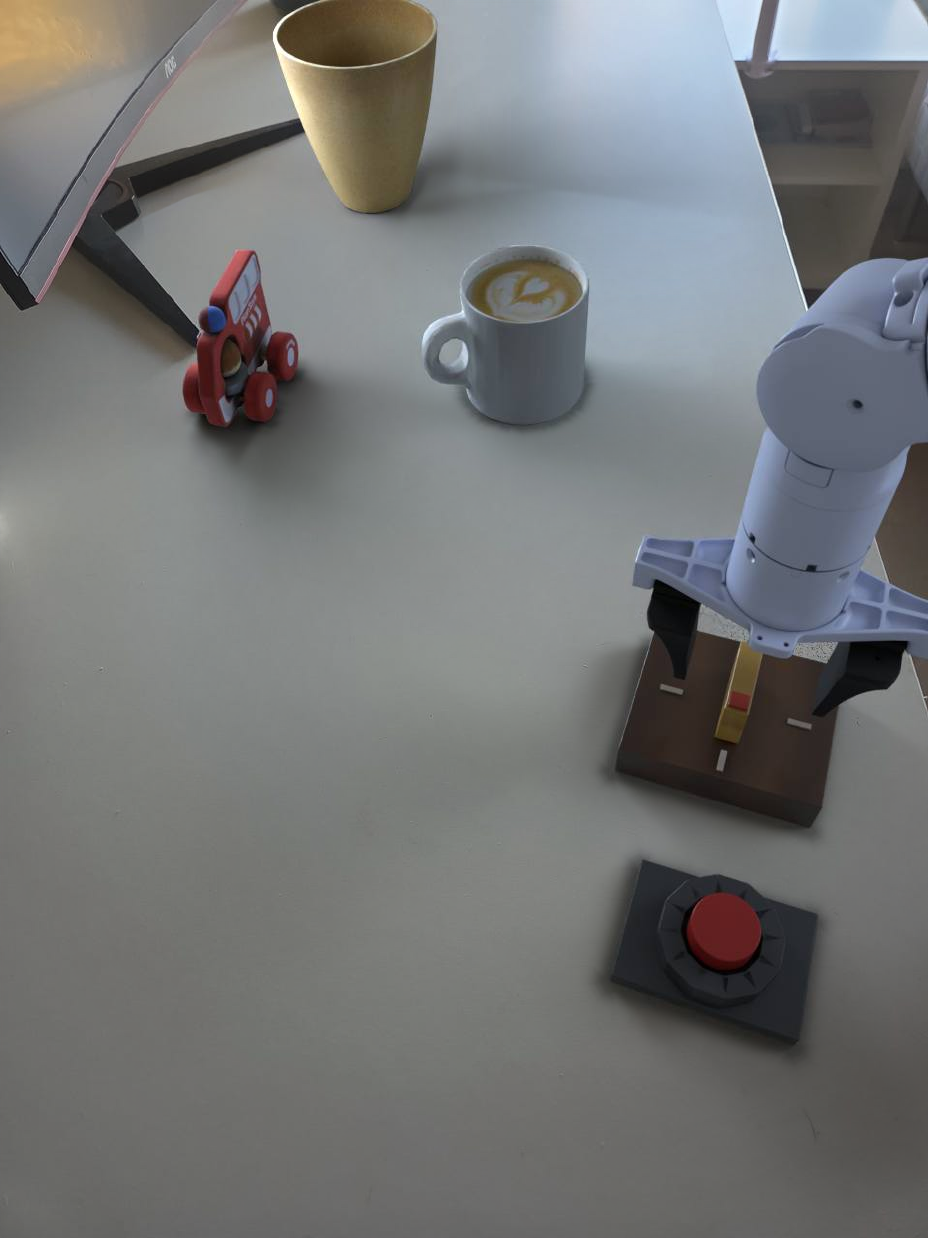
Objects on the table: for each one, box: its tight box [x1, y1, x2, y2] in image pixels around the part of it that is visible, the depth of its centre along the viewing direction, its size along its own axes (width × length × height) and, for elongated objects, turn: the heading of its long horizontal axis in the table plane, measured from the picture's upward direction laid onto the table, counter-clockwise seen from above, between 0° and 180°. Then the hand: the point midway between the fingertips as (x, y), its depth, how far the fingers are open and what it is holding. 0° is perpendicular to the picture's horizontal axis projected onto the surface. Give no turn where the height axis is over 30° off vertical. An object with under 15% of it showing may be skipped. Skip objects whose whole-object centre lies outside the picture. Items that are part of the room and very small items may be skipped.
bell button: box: [687, 893, 761, 971], centre depth 51 cm, size 4×4×2 cm
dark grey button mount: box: [609, 858, 819, 1046], centre depth 52 cm, size 10×7×3 cm
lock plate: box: [614, 630, 840, 829], centre depth 60 cm, size 12×10×3 cm
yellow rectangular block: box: [715, 640, 763, 743], centre depth 58 cm, size 5×1×4 cm, turn 160°
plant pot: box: [272, 0, 439, 214], centre depth 93 cm, size 15×15×16 cm
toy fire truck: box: [182, 248, 299, 428], centre depth 79 cm, size 7×12×10 cm, turn 166°
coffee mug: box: [420, 244, 590, 426], centre depth 77 cm, size 13×10×10 cm
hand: (750, 683), depth 54 cm, fingers open, 7 cm apart
